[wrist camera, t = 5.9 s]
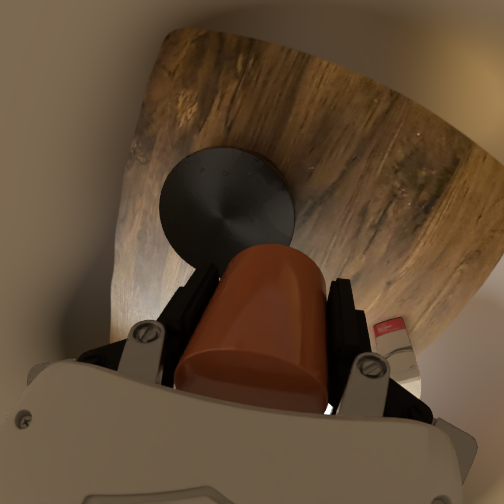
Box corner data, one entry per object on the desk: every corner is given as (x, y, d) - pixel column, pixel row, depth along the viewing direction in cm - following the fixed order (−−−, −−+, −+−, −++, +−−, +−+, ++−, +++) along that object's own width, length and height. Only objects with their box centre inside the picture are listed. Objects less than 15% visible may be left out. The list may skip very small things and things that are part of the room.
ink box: (372, 323, 39) (384, 387, 28) (403, 315, 37) (422, 376, 27) (378, 360, 42) (386, 418, 32) (405, 352, 40) (418, 410, 30)
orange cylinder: (221, 237, 12) (160, 333, 7) (334, 250, 12) (348, 362, 6) (223, 321, 14) (184, 419, 9) (316, 334, 14) (311, 440, 9)
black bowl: (182, 140, 32) (154, 148, 26) (301, 143, 30) (300, 150, 23) (188, 244, 38) (166, 271, 32) (293, 255, 36) (288, 286, 30)
